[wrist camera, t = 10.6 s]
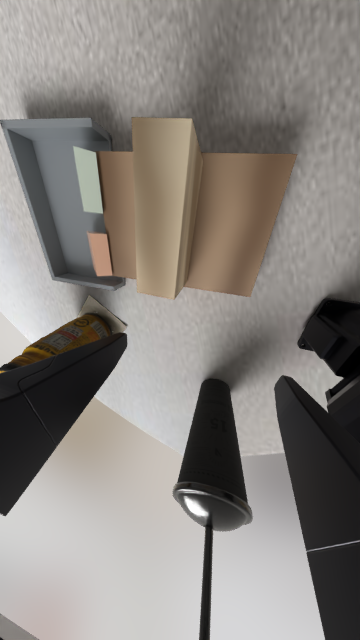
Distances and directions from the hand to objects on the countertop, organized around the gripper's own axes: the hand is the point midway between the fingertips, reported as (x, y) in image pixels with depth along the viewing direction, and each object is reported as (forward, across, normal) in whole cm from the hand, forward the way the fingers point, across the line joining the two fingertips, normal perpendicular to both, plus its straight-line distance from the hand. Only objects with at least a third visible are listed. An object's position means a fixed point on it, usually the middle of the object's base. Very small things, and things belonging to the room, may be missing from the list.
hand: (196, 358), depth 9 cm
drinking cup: (+12, -4, +17) cm, 21 cm away
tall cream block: (+9, +4, -6) cm, 11 cm away
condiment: (+12, +17, +9) cm, 23 cm away
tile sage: (+10, +13, -9) cm, 18 cm away
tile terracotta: (+10, +12, -3) cm, 16 cm away
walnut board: (+12, +4, -6) cm, 14 cm away
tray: (+11, +16, -6) cm, 21 cm away
